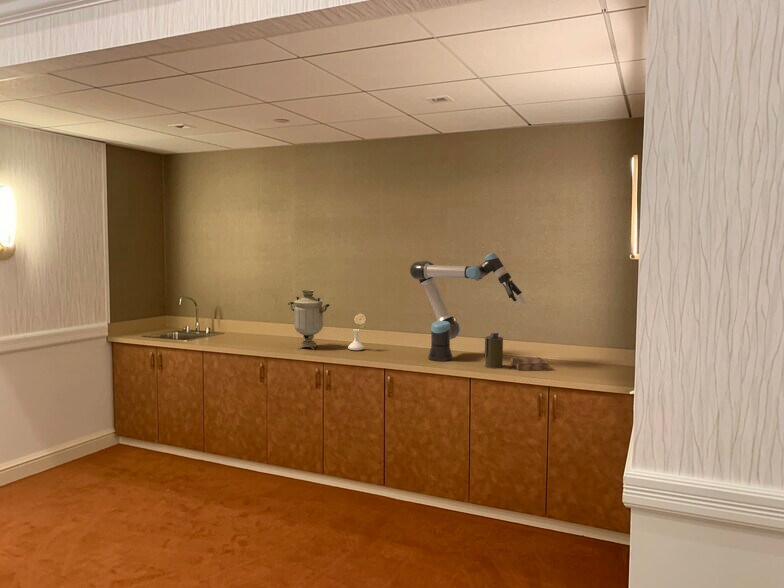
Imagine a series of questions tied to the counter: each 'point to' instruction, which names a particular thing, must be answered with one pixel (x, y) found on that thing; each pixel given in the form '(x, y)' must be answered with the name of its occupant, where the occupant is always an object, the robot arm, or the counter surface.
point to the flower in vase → (356, 344)
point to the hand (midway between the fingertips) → (522, 304)
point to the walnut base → (529, 364)
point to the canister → (494, 351)
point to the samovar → (308, 317)
